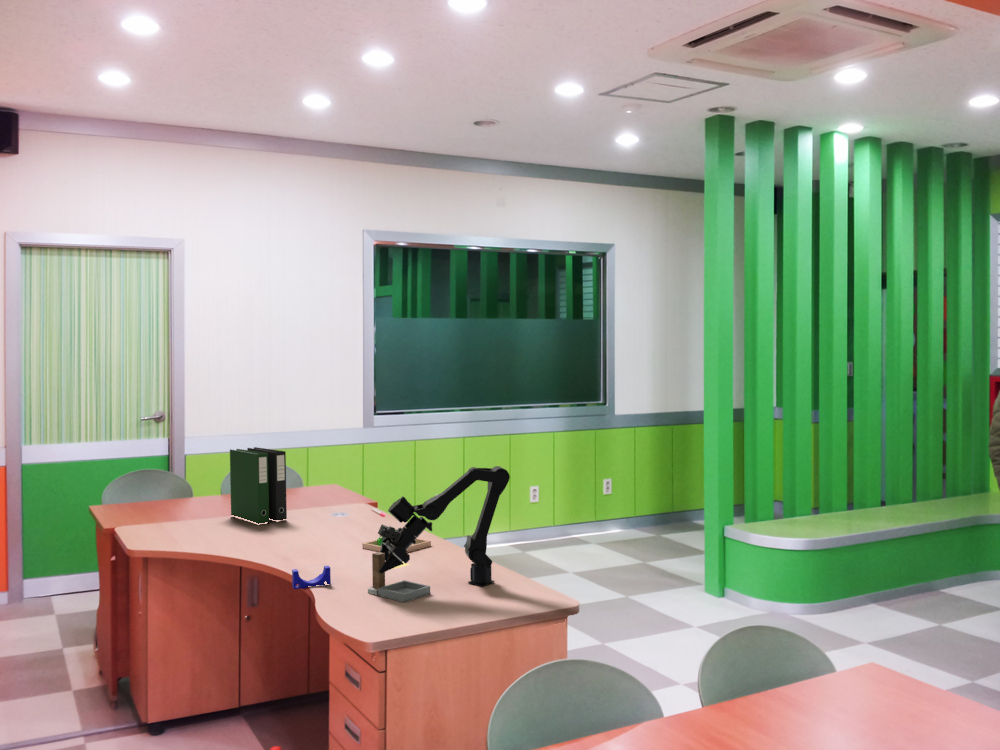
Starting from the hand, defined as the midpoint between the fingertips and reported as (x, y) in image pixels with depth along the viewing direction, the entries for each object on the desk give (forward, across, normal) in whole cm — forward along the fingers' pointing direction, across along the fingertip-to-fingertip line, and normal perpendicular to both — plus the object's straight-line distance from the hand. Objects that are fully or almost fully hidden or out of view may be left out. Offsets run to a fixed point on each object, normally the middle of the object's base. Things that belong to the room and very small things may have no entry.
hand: (377, 568), depth 273 cm
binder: (+25, -139, -14) cm, 142 cm away
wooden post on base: (+5, 0, +6) cm, 8 cm away
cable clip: (+19, -16, -8) cm, 26 cm away
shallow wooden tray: (-9, -59, +19) cm, 63 cm away
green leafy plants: (-8, -60, +19) cm, 64 cm away
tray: (0, +6, +10) cm, 12 cm away
